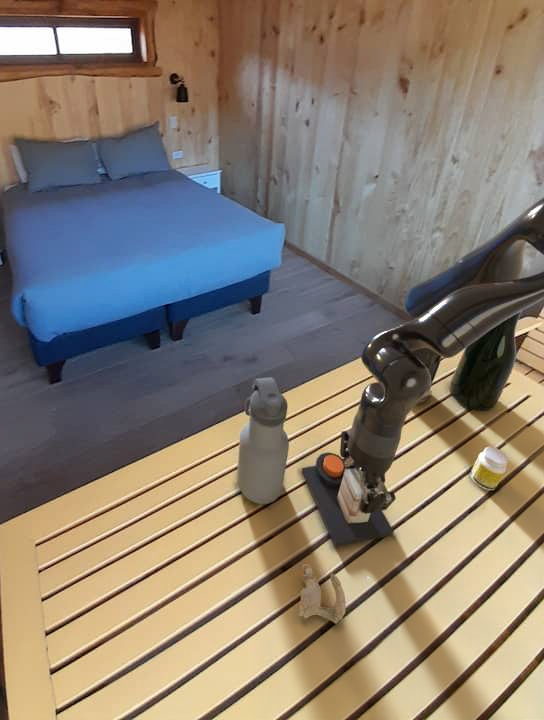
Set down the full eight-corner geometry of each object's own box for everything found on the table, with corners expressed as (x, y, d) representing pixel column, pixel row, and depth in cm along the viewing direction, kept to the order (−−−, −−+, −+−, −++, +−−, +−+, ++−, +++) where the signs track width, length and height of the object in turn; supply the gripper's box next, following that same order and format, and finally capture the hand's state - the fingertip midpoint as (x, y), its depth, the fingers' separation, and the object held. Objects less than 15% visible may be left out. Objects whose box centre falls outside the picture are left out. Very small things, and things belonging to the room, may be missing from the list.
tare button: (319, 461, 88) (320, 456, 88) (336, 458, 89) (337, 453, 88) (328, 479, 85) (329, 474, 84) (345, 475, 85) (347, 470, 85)
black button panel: (298, 465, 90) (300, 457, 89) (347, 457, 92) (350, 448, 91) (334, 547, 76) (337, 539, 74) (392, 535, 78) (395, 526, 76)
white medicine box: (336, 497, 83) (343, 467, 78) (356, 496, 83) (365, 465, 78) (347, 525, 78) (356, 494, 73) (368, 523, 78) (379, 492, 74)
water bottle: (232, 461, 91) (238, 371, 79) (274, 457, 92) (286, 367, 79) (242, 508, 82) (250, 415, 69) (288, 503, 83) (305, 410, 70)
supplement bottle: (500, 493, 84) (515, 468, 80) (475, 488, 85) (488, 463, 81) (489, 471, 88) (503, 446, 85) (466, 467, 89) (478, 442, 85)
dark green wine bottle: (442, 395, 107) (482, 293, 92) (456, 375, 113) (496, 277, 98) (487, 420, 100) (539, 315, 85) (500, 398, 106) (550, 295, 91)
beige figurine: (275, 587, 69) (307, 548, 67) (297, 577, 73) (327, 541, 71) (310, 648, 63) (346, 608, 60) (331, 634, 67) (366, 596, 64)
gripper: (421, 472, 64) (397, 530, 72) (370, 401, 77) (354, 457, 85) (378, 480, 63) (359, 539, 71) (334, 406, 76) (321, 463, 84)
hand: (356, 494), depth 78 cm, fingers closed on white medicine box, 5 cm apart
